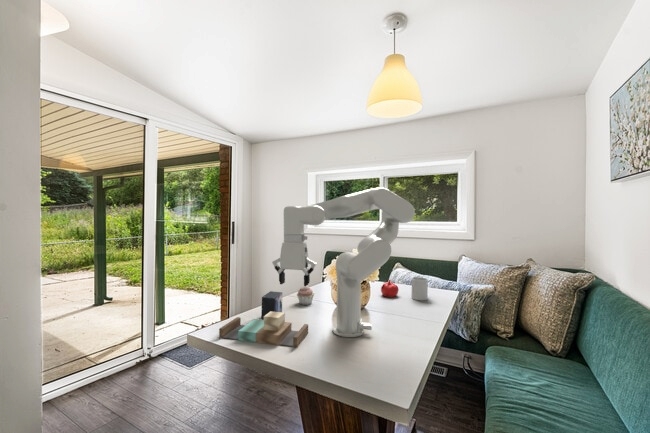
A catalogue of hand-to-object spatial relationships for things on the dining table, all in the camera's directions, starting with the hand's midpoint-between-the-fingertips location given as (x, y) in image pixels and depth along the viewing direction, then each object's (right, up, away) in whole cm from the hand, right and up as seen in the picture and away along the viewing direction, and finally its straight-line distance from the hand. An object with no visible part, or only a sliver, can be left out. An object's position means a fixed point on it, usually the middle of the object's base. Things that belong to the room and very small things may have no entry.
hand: (294, 284), depth 115 cm
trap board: (-12, -20, +3) cm, 23 cm away
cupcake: (+1, -20, +44) cm, 49 cm away
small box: (-12, -20, +23) cm, 33 cm away
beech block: (-8, -17, +2) cm, 19 cm away
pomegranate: (+49, -20, +60) cm, 80 cm away
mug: (+65, -20, +56) cm, 88 cm away
